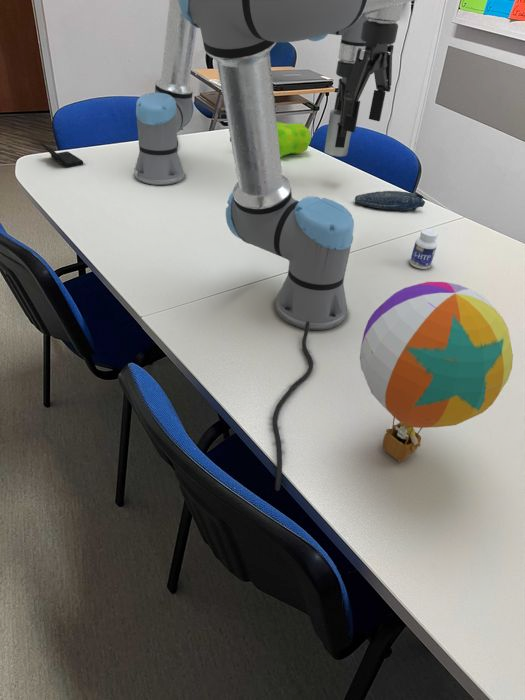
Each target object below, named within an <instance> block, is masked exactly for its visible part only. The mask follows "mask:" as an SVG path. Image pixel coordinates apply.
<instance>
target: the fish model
mask: <svg viewBox="0 0 525 700" xmlns="http://www.w3.org/2000/svg"><path fill="white" fill-rule="evenodd" d="M423 198H424V195H422V194H420V193H419V194H418V193H414V192H408V191H399V190H383V191H380V190H379V191H372V192H366V193H362V194H358V195H355V197H354V203H355V204H358V205H362V206H365V207H369V208H373V209H379V210H389V211H393V210H395V211H402V212H406V211H408V210H412V211H416V210H417V209H418V208H423V207H424V206H425V204H426V201H425V200H424V199H423Z"/></svg>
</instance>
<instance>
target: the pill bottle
mask: <svg viewBox="0 0 525 700" xmlns="http://www.w3.org/2000/svg"><path fill="white" fill-rule="evenodd" d="M438 235H439V233H438V231H435V230H434V229H430V228H423V229H422V230H421V231H420V235H419V237H417V238H416V239H415V242H414V245H413V249H412V252H411V255H410V259H409V264H410V265H411V266H413V267H414V268H417V269H420V270H421V269H422V270H426V269H429V268H430V267H431V265H432V264H433V263H432V262H433V259H434V256H435V254H436V250H437V247H438V242H437V238H438Z"/></svg>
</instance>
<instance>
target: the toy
mask: <svg viewBox="0 0 525 700" xmlns="http://www.w3.org/2000/svg"><path fill="white" fill-rule="evenodd" d="M510 336H511V335H510V332H509V327H508V325H507V323H506V321H505V319H504V317H503V316H502V315H501V314H500V312H499V311H498V310H497V309H496V307H494V305H493V304H492V303H491V302H490V301H489V300H488V299H487V298H485V297H484V296H482V295H481V294H479V293H478V292H476V291H475V290H473V289H470V288H468V287H465V286H463V285H460V284H457V283H451V282H446V281H425V282H421V283H417V284H414V285H409V286H407V287H404V288H402V289H399V290H398V291H396V292H395V293H393V294H392V295H391V296H390V297H388V298H387V299H386V300H385V301H384V302H383V303H381V305H380V306H378V307H377V308H375V310H374V311H373V313H372V314H371V315H370V317H369V318H368V319H367V322H366V325H365V328H364V331H363V336H362V340H361V344H360V353H359V363H360V369H361V371H362V374H363V377H364V379H365V381H366V384H367V387H368V388H369V390H370V393H371V395H372V396H374V398H375V399H376V400H377V401H378V402H379V404H380V405H381V406H382V407H383V408H384V409H385V410H386V411H388V413H389V414H390V415H391V416H392V417H393V421H392V426H391V428H386V430H385V433H384V437H383V440H382V449H383V450H384V451H385V452H386V453H387V454H389V456H391V457H392V458H393V459H395V460H396V461H397V462H399V463H403V462H405V460H407V459H408V458H409V457H410V456H411V455H413V454H414V453H415V452H416V450H417V449H418V448H420V447H421V441H422V436H421V435H420V434H419V433H420V432H421V431H422V430H423V429H424V428H425V429H428V428H443V427H452V426H457V425H459V424H461V423H463V422H466V421H468V420H470V419H472V418H474V417H477V416H479V415H480V414H481V415H482V414H483V413H484V412H486V411H487V410H489V408H490V407H491V406H492V405H494V403H495V401H496V400H497V398H498V397H499V395H500V393H501V392H502V390H503V388H504V387H505V386H506V384H507V383H508V381H509V378H510V376H511V372H512V370H513V359H514V353H513V347H512V342H511V337H510ZM395 420H397V421H398V422H399V423H397V424H395ZM415 428H417V429H419V428H420V429H419V430H418V431H417V432H416V430H415Z"/></svg>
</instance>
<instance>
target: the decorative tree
mask: <svg viewBox="0 0 525 700" xmlns="http://www.w3.org/2000/svg"><path fill="white" fill-rule="evenodd" d="M277 131H278V140H279V150H280V158H283V157H284V156H287V155H289V154H295V155H299V154H302V153H303V152H305V151H307V149H308V148H309V146H310V145H311V140H312V134H311V131H310V130H309V129H308V128H307V127H306V126H305V125H304V124H303V123H283V122H281V121H277ZM229 142H230V143H231V138H230V137H229Z"/></svg>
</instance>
